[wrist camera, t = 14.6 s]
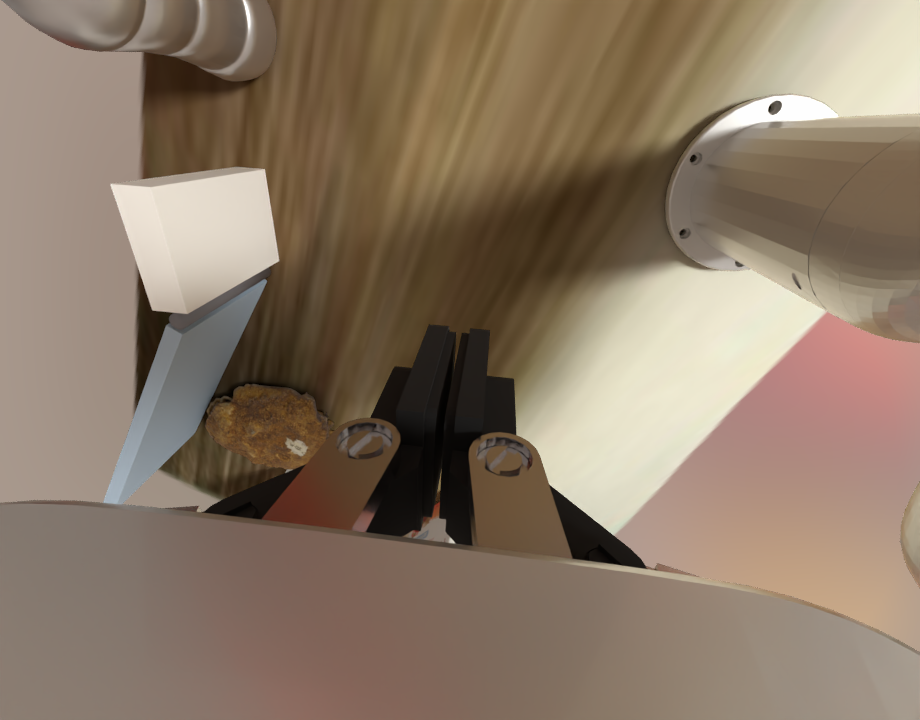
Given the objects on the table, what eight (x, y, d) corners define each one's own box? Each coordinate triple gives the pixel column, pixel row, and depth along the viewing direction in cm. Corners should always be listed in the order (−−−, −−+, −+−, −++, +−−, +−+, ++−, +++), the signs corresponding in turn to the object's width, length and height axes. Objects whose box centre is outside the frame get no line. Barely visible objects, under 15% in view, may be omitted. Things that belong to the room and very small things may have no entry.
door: (245, 252, 38) (148, 297, 28) (272, 269, 39) (188, 320, 28) (173, 421, 50) (85, 498, 39) (194, 433, 50) (114, 511, 40)
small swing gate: (233, 166, 35) (106, 183, 24) (267, 169, 35) (155, 187, 24) (293, 480, 54) (237, 573, 42) (316, 483, 54) (265, 577, 42)
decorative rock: (233, 449, 53) (346, 451, 52) (215, 473, 49) (336, 476, 48) (200, 377, 47) (327, 377, 46) (177, 399, 43) (314, 400, 42)
